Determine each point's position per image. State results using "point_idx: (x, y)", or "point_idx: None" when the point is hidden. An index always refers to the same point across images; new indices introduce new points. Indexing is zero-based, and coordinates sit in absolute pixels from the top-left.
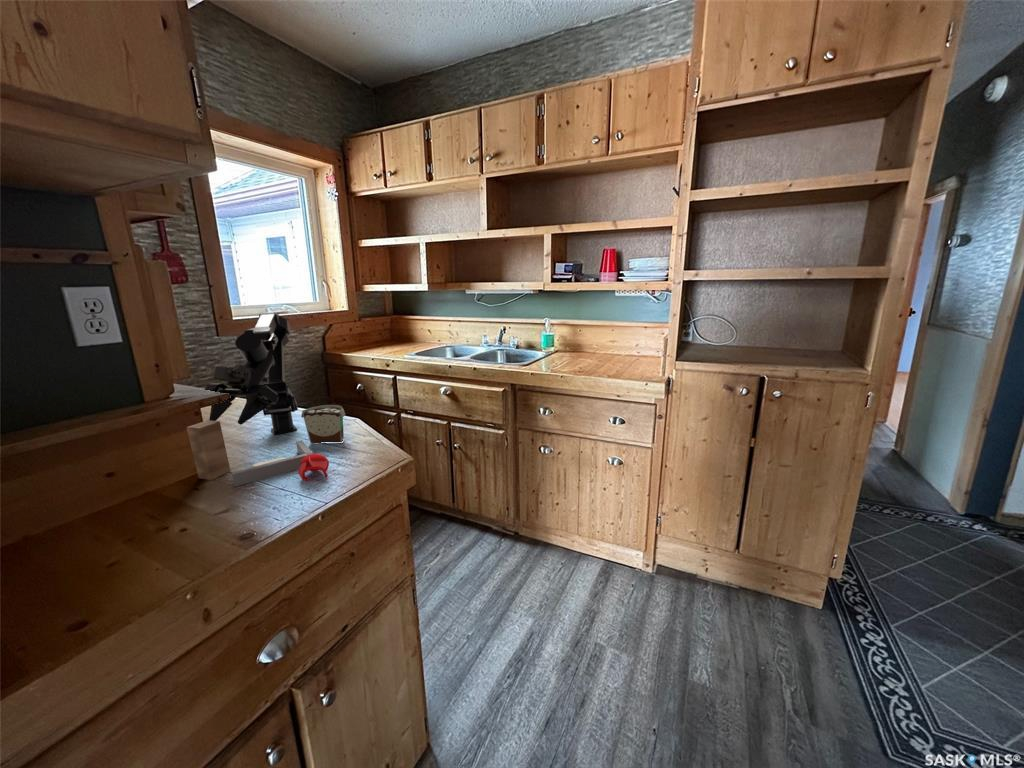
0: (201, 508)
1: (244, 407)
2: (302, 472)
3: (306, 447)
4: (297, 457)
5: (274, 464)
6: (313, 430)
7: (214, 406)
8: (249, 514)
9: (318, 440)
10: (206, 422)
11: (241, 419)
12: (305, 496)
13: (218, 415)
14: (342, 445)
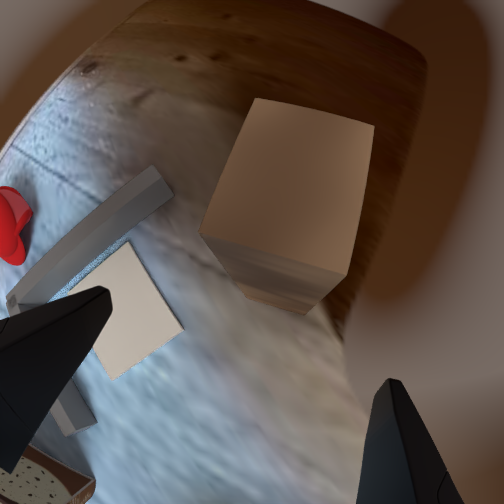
0: (190, 101)
1: (7, 341)
2: (15, 190)
3: None
4: (26, 274)
5: (67, 236)
6: (55, 488)
7: (418, 488)
8: (96, 99)
9: (66, 471)
10: (303, 209)
11: (76, 297)
12: (30, 157)
13: (369, 461)
14: None
